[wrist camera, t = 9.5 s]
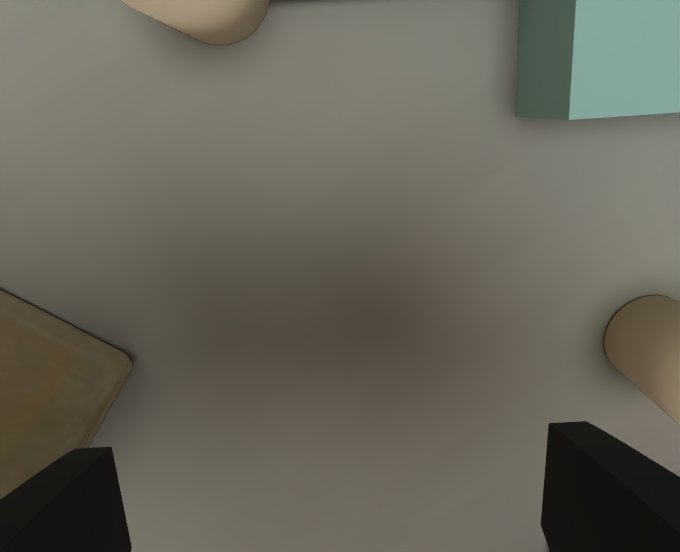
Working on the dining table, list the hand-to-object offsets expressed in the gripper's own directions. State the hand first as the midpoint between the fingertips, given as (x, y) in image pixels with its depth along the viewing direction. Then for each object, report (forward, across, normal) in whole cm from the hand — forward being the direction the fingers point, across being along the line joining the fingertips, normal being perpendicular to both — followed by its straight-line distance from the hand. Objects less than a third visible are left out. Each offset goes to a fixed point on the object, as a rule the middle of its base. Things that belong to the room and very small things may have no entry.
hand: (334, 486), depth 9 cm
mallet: (+10, -6, -9) cm, 15 cm away
